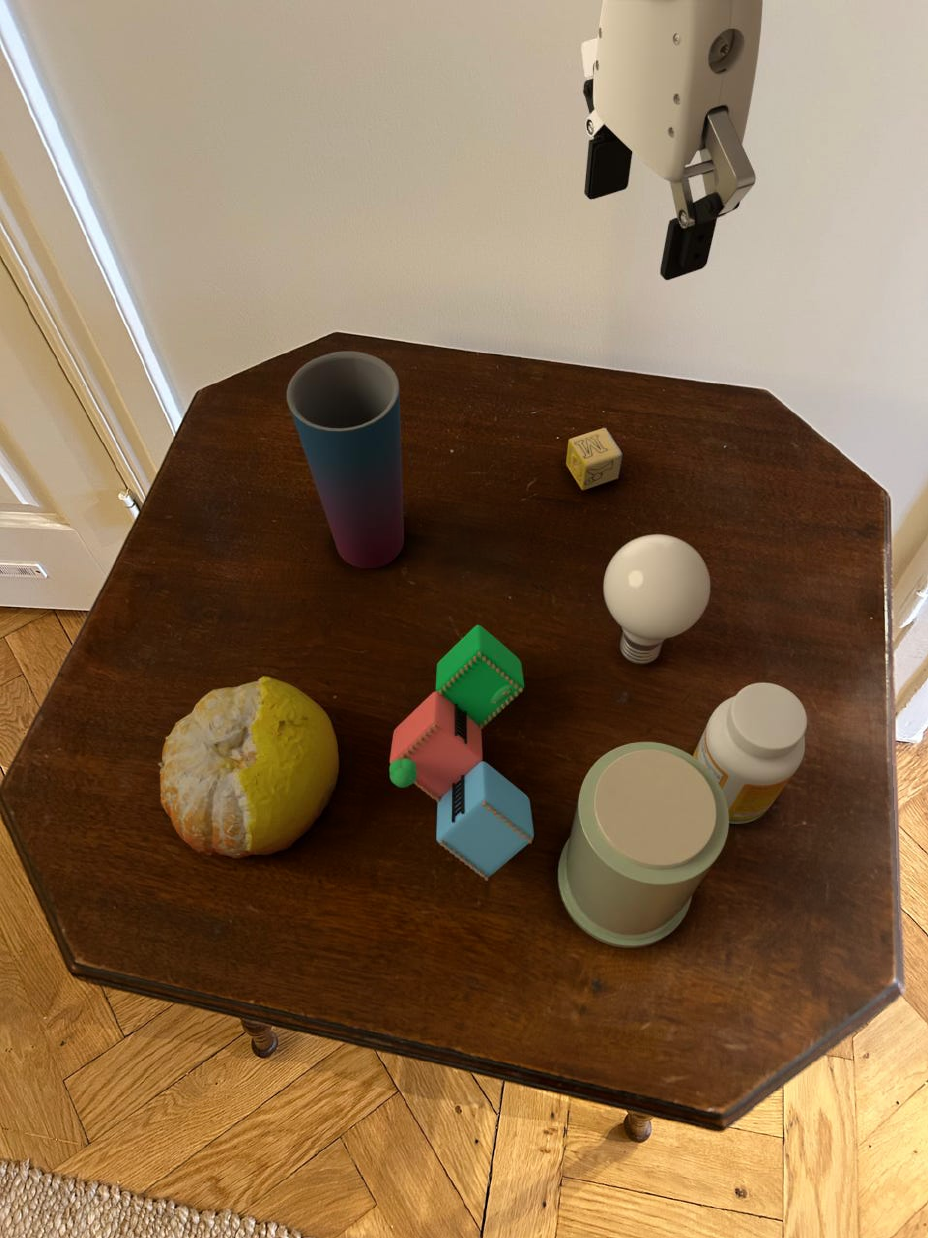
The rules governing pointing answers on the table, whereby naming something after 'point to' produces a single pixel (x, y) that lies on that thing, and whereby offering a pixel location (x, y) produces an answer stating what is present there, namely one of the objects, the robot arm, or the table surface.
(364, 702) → the table surface
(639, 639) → the lightbulb
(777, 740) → the supplement bottle
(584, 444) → the alphabet block
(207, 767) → the fruit
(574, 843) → the upturned tumbler
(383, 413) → the cup
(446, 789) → the building blocks
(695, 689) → the table surface
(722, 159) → the robot arm
